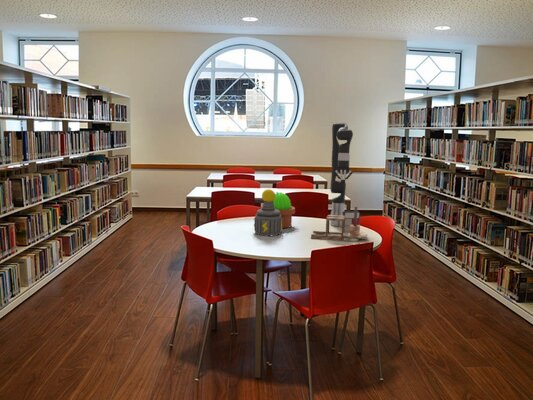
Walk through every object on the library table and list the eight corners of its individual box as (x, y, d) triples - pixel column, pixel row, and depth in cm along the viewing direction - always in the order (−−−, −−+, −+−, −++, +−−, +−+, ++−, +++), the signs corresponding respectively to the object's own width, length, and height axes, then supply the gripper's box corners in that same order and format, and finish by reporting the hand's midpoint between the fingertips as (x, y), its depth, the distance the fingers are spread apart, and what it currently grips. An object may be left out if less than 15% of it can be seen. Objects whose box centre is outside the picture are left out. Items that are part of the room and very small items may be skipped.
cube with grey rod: (341, 237, 308) (343, 207, 305) (342, 234, 317) (343, 205, 314) (367, 238, 305) (368, 208, 302) (367, 235, 313) (368, 206, 311)
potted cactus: (292, 229, 337) (293, 194, 334) (262, 228, 341) (262, 193, 338) (296, 223, 359) (297, 190, 355) (267, 222, 362) (268, 189, 359)
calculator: (343, 234, 326) (344, 212, 323) (341, 232, 330) (342, 211, 328) (359, 233, 328) (360, 212, 326) (356, 232, 332) (357, 211, 330)
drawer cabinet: (311, 238, 311) (311, 217, 309) (313, 234, 323) (313, 214, 321) (358, 241, 305) (358, 219, 303) (358, 237, 316) (359, 216, 314)
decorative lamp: (279, 237, 314) (280, 191, 309) (251, 235, 317) (251, 190, 313) (284, 231, 332) (284, 188, 328) (257, 229, 335) (258, 187, 331)
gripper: (354, 159, 323) (352, 185, 326) (334, 159, 326) (333, 184, 328) (353, 160, 316) (352, 186, 318) (333, 159, 319) (332, 185, 321)
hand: (342, 185), depth 323 cm, fingers closed
